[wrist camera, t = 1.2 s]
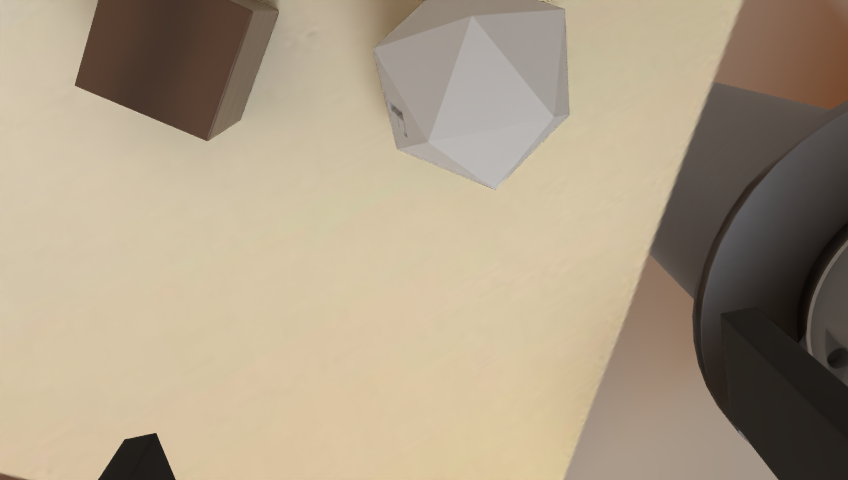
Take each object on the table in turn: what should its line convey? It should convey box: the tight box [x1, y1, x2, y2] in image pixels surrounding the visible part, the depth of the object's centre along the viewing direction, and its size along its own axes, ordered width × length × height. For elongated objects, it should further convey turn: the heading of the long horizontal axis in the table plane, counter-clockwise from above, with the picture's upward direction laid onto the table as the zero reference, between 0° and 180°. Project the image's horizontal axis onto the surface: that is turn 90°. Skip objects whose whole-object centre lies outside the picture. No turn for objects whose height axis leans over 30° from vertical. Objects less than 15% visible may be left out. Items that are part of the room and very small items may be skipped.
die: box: [373, 0, 569, 190], centre depth 31 cm, size 8×9×10 cm
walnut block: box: [75, 0, 279, 141], centre depth 32 cm, size 6×6×6 cm
